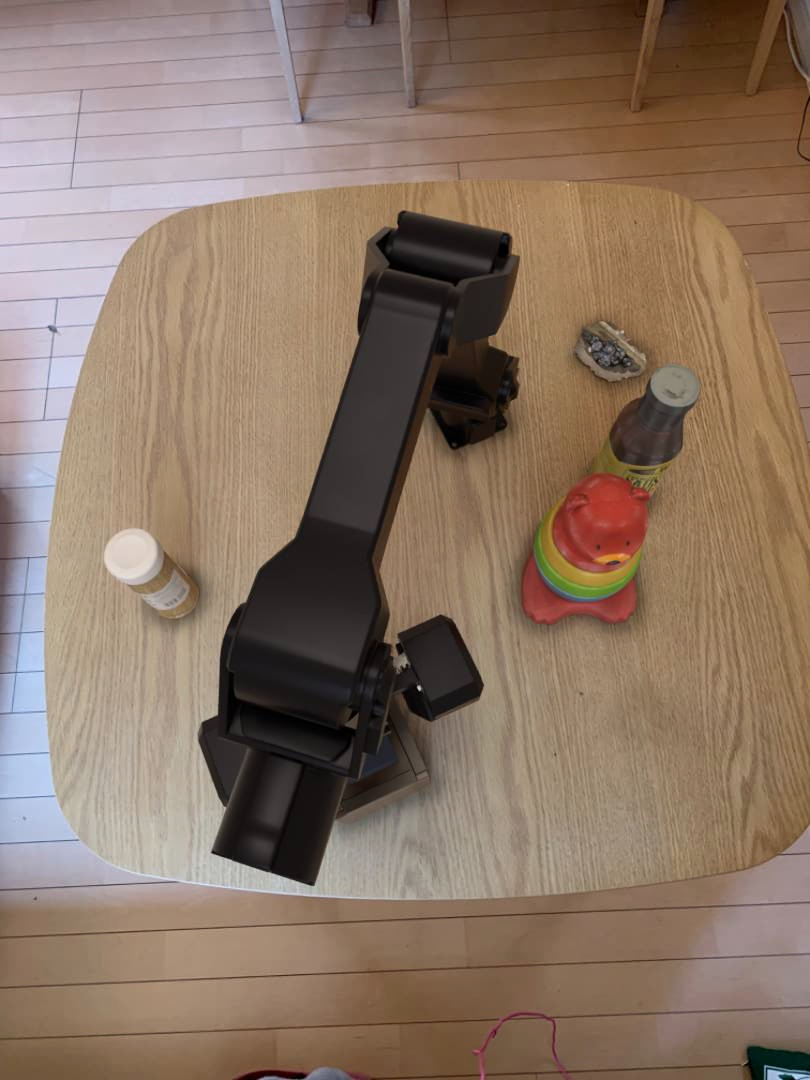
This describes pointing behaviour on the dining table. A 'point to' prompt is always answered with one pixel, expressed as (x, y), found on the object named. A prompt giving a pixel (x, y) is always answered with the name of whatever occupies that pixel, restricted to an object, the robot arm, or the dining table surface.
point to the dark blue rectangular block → (377, 761)
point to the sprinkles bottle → (151, 572)
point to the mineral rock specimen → (609, 352)
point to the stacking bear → (587, 553)
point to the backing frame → (387, 774)
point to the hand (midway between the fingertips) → (353, 727)
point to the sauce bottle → (650, 429)
